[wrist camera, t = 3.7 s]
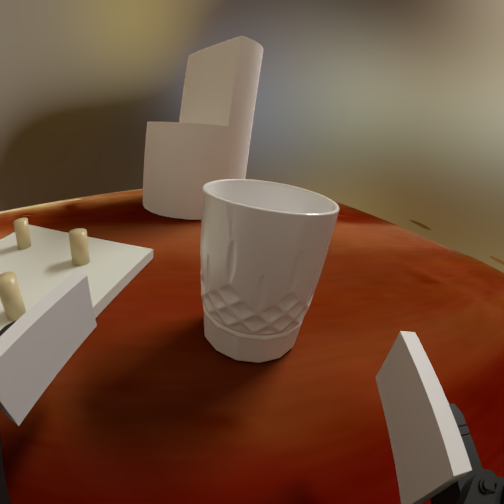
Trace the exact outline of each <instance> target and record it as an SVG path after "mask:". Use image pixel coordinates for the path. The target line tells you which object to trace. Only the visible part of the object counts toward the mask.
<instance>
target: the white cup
mask: <svg viewBox="0 0 504 504" xmlns="http://www.w3.org/2000/svg"><path fill="white" fill-rule="evenodd" d="M338 213H339V206H338V205H337V203H335V202H334V201H333V200H331V199H329V198H327V197H325V196H323V195H321V194H318V193H315V192H313V191H310V190H306V189H303V188H299V187H295V186H291V185H286V184H281V183H275V182H269V181H260V180H250V179H223V180H216V181H211V182H208V183H206V184H205V185H203V187H202V211H201V248H200V261H201V299H202V301H203V325H204V336H205V338H206V339H207V340H208V341H209V342H210V344H211V345H212V346H213V347H214V348H215V350H216V351H218V352H220V353H222V354H224V355H226V356H228V357H231V358H233V359H235V360H239V361H247V362H256V363H261V362H265V361H270V360H274V359H278V358H281V357H282V356H283V355H284V354H285V353H287V352H288V351H289V350H290V349H291V348H293V346H294V344H295V341H296V338H297V335H298V332H299V329H300V326H301V324H302V321H303V318H304V316H305V314H306V313H307V311H308V308H309V306H310V303H311V300H312V298H313V295H314V292H315V288H316V286H317V283H318V281H319V278H320V275H321V272H322V269H323V265H324V262H325V259H326V255H327V252H328V248H329V245H330V241H331V238H332V234H333V231H334V227H335V224H336V220H337V216H338Z"/></svg>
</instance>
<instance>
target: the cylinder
mask: <svg viewBox="0 0 504 504" xmlns="http://www.w3.org/2000/svg"><path fill="white" fill-rule="evenodd" d="M262 56H263V47H262V46H261V45H260V44H259V43H257V42H256V41H254V40H252V39H249V38H247V37H244V36H239V37H236V38H233V39H230V40H227V41H224V42H221V43H218V44H215V45H213V46H210V47H208V48H205V49H202V50H200V51H197V52H195V53H193V54H191V55H189V57H188V63H187V69H186V75H185V82H184V89H183V96H182V104H181V112H180V120H179V122H147V133H146V145H145V159H144V178H143V206H144V208H145V209H147V210H148V211H150V212H152V213H155V214H158V215H161V216H166V217H171V218H179V219H188V220H201V211H202V187H203V185H205V184H206V183H208V182H211V181H216V180H223V179H245V177H246V169H247V161H248V154H249V147H250V138H251V132H252V125H253V118H254V110H255V103H256V96H257V90H258V83H259V76H260V69H261V62H262Z"/></svg>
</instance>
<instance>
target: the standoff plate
mask: <svg viewBox="0 0 504 504" xmlns="http://www.w3.org/2000/svg"><path fill="white" fill-rule="evenodd" d="M14 228H15V232H14V233H12V234H10V235H8V236H7V237H5V238H3V239H1V240H0V330H1V329H2V328H3V327H5V326H6V325H8V324H10V323H12V322H13V321H15V320H16V321H17V320H18V319H19V318H20V317H22V316H23V315H24V314H25V313H26V312H27V311H28V310H29V309H30V308H32V307H33V306H34V305H35V304H36V303H37V302H38V301H40V300H41V299H42V298H43V297H44V296H45V295H47V294H48V293H49V292H50V291H51V290H53V289H54V288H55V287H56V286H57V285H59V284H60V283H61V282H62V281H64V280H65V279H66V278H67V277H69V276H70V275H71V274H72V273H74V272H77V273H81V274H84V275H87V277H88V283H89V289H90V295H91V301H92V306H93V311H94V316H95V318H96V317H97V316H98V315H99V314H100V313H101V312H102V311H103V310H104V309H105V308H106V306H107V305H108V304H109V303H110V302H111V301H112V300H113V299H114V298H115V297H116V296H117V295H118V294H119V293H120V292H121V290H122V289H123V288H124V287H125V286H126V285H127V284H128V283H129V282H130V281H131V280H132V279H133V278H134V277H135V276H136V275H137V274H138V273H139V272H140V271H141V270H142V269H143V268H144V267H145V266H146V265H147V264H148V263H149V262H150V261H151V260H152V259H153V249H149V248H144V247H139V246H133V245H128V244H123V243H118V242H113V241H107V240H102V239H97V238H92V237H87V230H86V229H84V228H77V229H73V230H71V231H69V233H67V232H62V231H57V230H52V229H47V228H42V227H38V226H33V225H28V218H20V219H17V220H15V221H14Z"/></svg>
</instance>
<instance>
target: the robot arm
mask: <svg viewBox="0 0 504 504" xmlns="http://www.w3.org/2000/svg"><path fill="white" fill-rule="evenodd" d="M96 326H97V325H96V320H95V316H94V311H93V306H92V301H91V295H90V289H89V283H88V277H87V275H84V274H81V273H77V272H74V273H72V274H71V275H70V276H69V277H67V278H66V279H65V280H64V281H62V282H61V283H60V284H59V285H57V286H56V287H55V288H54V289H53V290H51V291H50V292H49V293H48V294H47V295H45V296H44V297H43V298H42V299H41V300H40V301H38V302H37V303H36V304H35V305H34V306H33V307H32V308H30V309H29V310H28V311H27V312H26V313H25V314H24V315H23V316H22V317H20V318H19V319H18V320H17V321H16V320H15V321H13V322H12V323H10V324H8V325H6V326H5V327H3V328H2V329H1V330H0V409H1V410H2V411H3V413H4V414H5V415H6V417H8V418H9V419H10V420H12V421H13V422H14V423H15V424H17V425H18V426H19V425H20V424H21V423H22V421H23V420H24V418H25V417H26V415H27V414H28V413H29V411H30V410H31V408H32V407H33V406H34V404H35V403H36V401H37V400H38V399H39V397H40V396H41V395H42V393H43V392H44V391H45V389H46V388H47V387H48V385H49V384H50V383H51V381H52V380H53V379H54V377H55V376H56V375H57V374H58V372H59V371H60V370H61V368H62V367H63V366H64V365H65V363H66V362H67V361H68V360H69V358H70V357H71V356H72V355H73V353H74V352H75V351H76V350H77V349H78V347H79V346H80V345H81V344H82V342H83V341H84V340H85V339H86V338H87V336H88V335H89V334H90V333H91V332H92V331H93V329H94V328H95V327H96ZM375 378H376V382H377V386H378V390H379V393H380V397H381V401H382V405H383V410H384V414H385V418H386V422H387V427H388V431H389V436H390V441H391V446H392V451H393V456H394V461H395V467H396V472H397V478H398V484H399V491H400V498H401V504H422V503H424V502H426V501H428V500H429V499H431V504H504V477H497V476H496V475H495V473H494V472H492V471H491V470H487V469H484V470H483V468H482V466H481V463H480V460H479V457H478V454H477V451H476V448H475V445H474V443H473V440H472V437H471V435H469V433H470V432H469V429H468V427H467V426H466V422H465V419H464V417H463V414H462V412H461V411H460V410H459V409H458V408H457V406H456V405H455V404H454V403H453V404H448V401H447V399H446V397H445V394H444V392H443V390H442V387H441V385H440V383H439V380H438V378H437V376H436V374H435V372H434V370H433V367H432V365H431V363H430V361H429V359H428V357H427V355H426V353H425V351H424V349H423V347H422V345H421V343H420V341H419V339H418V337H417V335H416V333H415V332H406V331H400V332H399V334H398V336H397V338H396V340H395V342H394V344H393V346H392V348H391V350H390V352H389V354H388V356H387V358H386V359H385V361H384V363H383V365H382V367H381V368H380V370H379V372H378V374H377V375H376V377H375ZM0 504H11V503H10V498H9V494H8V489H7V484H6V479H5V473H4V466H3V458H2V449H1V438H0Z"/></svg>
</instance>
